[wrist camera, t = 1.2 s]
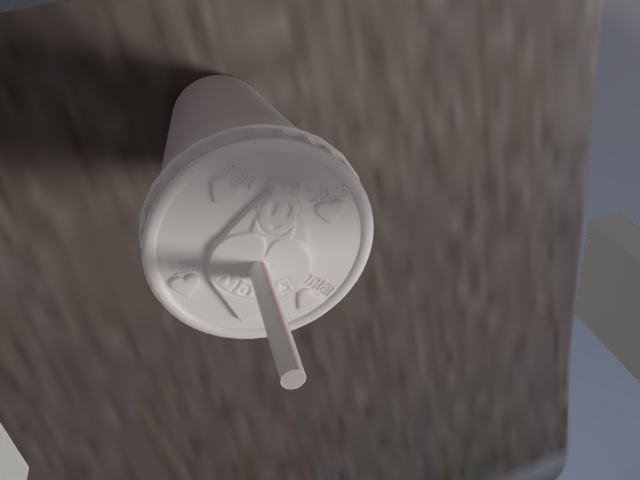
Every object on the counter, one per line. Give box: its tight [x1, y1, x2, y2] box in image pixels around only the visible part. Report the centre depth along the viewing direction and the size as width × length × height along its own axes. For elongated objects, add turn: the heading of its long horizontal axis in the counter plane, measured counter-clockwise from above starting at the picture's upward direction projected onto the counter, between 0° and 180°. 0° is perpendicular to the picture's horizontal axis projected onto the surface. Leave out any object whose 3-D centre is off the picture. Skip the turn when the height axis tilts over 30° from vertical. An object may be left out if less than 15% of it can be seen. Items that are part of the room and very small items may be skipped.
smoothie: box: [138, 75, 374, 389], centre depth 18 cm, size 6×6×14 cm
